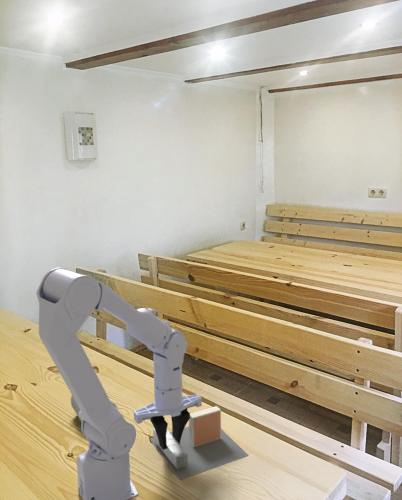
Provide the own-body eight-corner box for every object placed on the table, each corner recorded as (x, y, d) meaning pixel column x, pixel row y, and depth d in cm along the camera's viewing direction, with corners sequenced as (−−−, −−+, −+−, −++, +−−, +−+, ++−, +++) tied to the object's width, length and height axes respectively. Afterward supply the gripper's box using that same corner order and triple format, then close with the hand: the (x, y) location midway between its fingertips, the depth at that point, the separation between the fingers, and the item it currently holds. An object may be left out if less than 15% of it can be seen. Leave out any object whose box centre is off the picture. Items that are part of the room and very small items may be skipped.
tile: (193, 448, 99) (193, 418, 98) (189, 443, 101) (188, 414, 99) (221, 438, 102) (221, 409, 101) (216, 434, 104) (216, 405, 103)
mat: (180, 481, 89) (180, 479, 89) (149, 440, 103) (149, 438, 103) (248, 456, 96) (248, 455, 96) (211, 421, 110) (211, 419, 110)
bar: (176, 469, 90) (176, 457, 90) (153, 438, 101) (153, 428, 100) (187, 465, 91) (187, 454, 91) (163, 435, 102) (163, 425, 101)
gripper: (141, 401, 87) (144, 465, 89) (208, 384, 93) (208, 444, 96) (129, 386, 93) (131, 447, 95) (192, 371, 100) (193, 428, 102)
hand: (169, 444), depth 96 cm, fingers closed on bar, 2 cm apart
